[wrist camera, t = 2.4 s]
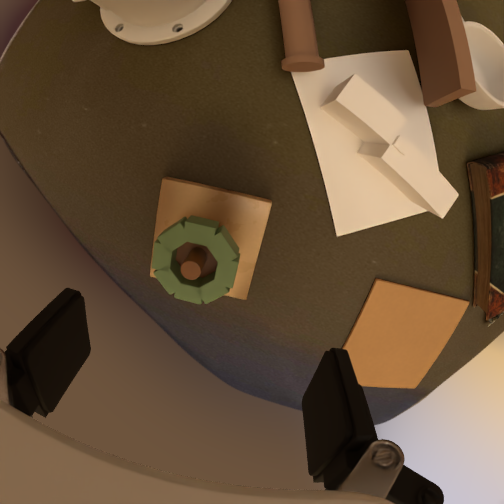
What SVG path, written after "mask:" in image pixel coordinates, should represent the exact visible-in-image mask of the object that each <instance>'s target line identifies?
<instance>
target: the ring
mask: <svg viewBox="0 0 504 504" xmlns="http://www.w3.org/2000/svg"><path fill="white" fill-rule="evenodd" d="M218 226H219V222H218V221H214V220H210V219H206V218H201V217H197V216H193V215H191V216H190V217H189V218H188V219H187V217H186V216H185V217H183V218H182V219H180V220H179V221H177V222H176V223H174V224H173V225H171V226H170V227H168V228H167V229H165V230H164V231H163V232H162V233H161V234H160V235H159V236H158V237H157V240H156V241H155V242H154V249H153V258H152V268H153V269H156V270H155V271H154V272H153V274H154V275H155V276H156V278H157V279H158V280H159V282H160V283H161V284H162V286H163V287H164V288H165V289H166V291H167V292H168V293H169V295H171V294H173V293H174V292H175V294H174V298H177V299H181V300H185V301H189V302H193V303H197V304H202V301H204V302H205V304H207V303H209V302H211V301H213V300H215V299H217V298H219V297H221V296H223V295H225V294H227V293H229V291H230V288H233V285H234V281H235V277H236V273H237V268H238V264H239V260H240V253H239V247H238V245H237V244H236V242H235V241H234V239H233V238H232V236H231V235H230V233H229V232H228V230H227V229H226V227H225V226H224V225H222V226H221V227H219V228H218ZM186 242H190V243H195V244H199V245H203V246H207V248H208V249H209V251H210V252H211V253H212V255H213V256H214V258H215V259H216V261H217V262H218V263H217V268H216V271H214V272H213V273H211V274H209V275H207V276H205V277H204V278H201V277H198V278H197V279H194V280H189V279H187V278H185V277H184V276H183V275H182V273H181V266H180V265H179V264H178V262H177V261H176V254H177V248H178V247H180V246H181V245H183V244H185V243H186Z"/></svg>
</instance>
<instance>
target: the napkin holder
mask: <svg viewBox="0 0 504 504" xmlns="http://www.w3.org/2000/svg"><path fill="white" fill-rule="evenodd" d="M324 64H325V67H324V68H323V69H321V70H317V71H311V72H291V74H292V77H293V80H294V83H295V85H296V88H297V91H298V94H299V97H300V100H301V104H302V107H303V110H304V113H305V116H306V119H307V123H308V126H309V129H310V133H311V136H312V139H313V143H314V146H315V150H316V153H317V157H318V161H319V164H320V168H321V172H322V176H323V179H324V183H325V187H326V191H327V195H328V200H329V204H330V208H331V212H332V217H333V221H334V226H335V230H336V235H337V236H341V235H345V234H348V233H352V232H355V231H359V230H362V229H366V228H370V227H373V226H377V225H380V224H384V223H387V222H391V221H395V220H398V219H402V218H405V217H409V216H412V215H416V214H419V213H423V212H426V211H430V212H432V213H433V214H435V215H437V216H439V217H440V218H442V219H443V218H444V216H445V215H446V213H447V212H448V210H449V209H450V207H451V206H452V204H453V203H454V201H455V200H456V198H457V197H458V195H459V194H458V193H457V192H456V191H455V189H454V188H453V187H452V186H451V185H450V183H449V182H448V181H447V180H446V179H445V178H444V177H443V175H442V174H441V173H440V172H439V169H438V163H437V156H436V151H435V145H434V140H433V135H432V130H431V126H430V121H429V117H428V113H427V109H426V106H425V105H424V102H423V94H422V90H421V87H420V84H419V80H418V77H417V74H416V71H415V68H414V65H413V62H412V59H411V56H410V53H409V51H408V50H399V51H384V52H373V53H363V54H355V55H347V56H340V57H334V58H327V59H324Z"/></svg>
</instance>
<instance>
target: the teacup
mask: <svg viewBox="0 0 504 504" xmlns="http://www.w3.org/2000/svg"><path fill="white" fill-rule="evenodd" d="M462 21H463V24H464V28H465V32H466V36H467V40H468V45H469V49H470V54H471V59H472V65H473V70H474V77H475V83H476V92H473V93H471V94H468V95H466V96H463V97H460V98H458V99H459V100H461V101H462V102H463V103H465V104H467V105H468V106H470V107H473V108H475V109H479V110H491V109H499V108H504V44H503V43H502V42H501V40H500V39H499V38H498V37H497V36H496V35H495V34H494V33H493V32H491V31H490V30H489V29H488V28H486V27H485V26H483V25H481V24H479V23H476V22H471V21H468V22H464V20H463V18H462Z"/></svg>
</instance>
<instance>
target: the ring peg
mask: <svg viewBox="0 0 504 504" xmlns="http://www.w3.org/2000/svg"><path fill="white" fill-rule="evenodd" d="M271 206H272V200H269V199H265V198H261V197H257V196H253V195H249V194H244V193H240V192H236V191H232V190H227V189H223V188H218V187H214V186H209V185H205V184H200V183H196V182H191V181H186V180H181V179H176V178H171V177H165V178H163V179H162V184H161V190H160V196H159V203H158V210H157V217H156V225H155V233H154V241H153V249H154V242H155V241H156V240H157V237H158V236H159V235H160V234H161V233H162V232H163V231H164V230H165V229H167V228H168V227H170V226H171V225H173V224H174V223H176V222H177V221H179V220H180V219H182V218H183V217H185V216H186V217H187V219H188V218H189V217H190V216H191V215H193V216H197V217H201V218H206V219H210V220H214V221H218V222H219V226H218V228H219V227H221V226H222V225H224V226H225V227H226V229H227V230H228V232H229V233H230V235H231V236H232V238H233V239H234V241H235V242H236V244H237V245H238V247H239V253H240V260H239V264H238V268H237V273H236V277H235V281H234V285H233V288H230V291H229V293H227V294H225V295H227V296H231V297H236V298H240V299H244V300H246V298H247V294H248V291H249V287H250V283H251V280H252V276H253V272H254V269H255V265H256V261H257V258H258V254H259V250H260V247H261V243H262V239H263V235H264V232H265V228H266V224H267V221H268V217H269V213H270V209H271ZM152 258H153V250H152ZM176 261H177V262H178V264H179V265H180V266H181V273H182V275H183V276H184V277H185V278H187V279H189V280H194V279H197V278H198V277H201V278H204V277H205V276H207V275H209V274H211V273H213V272H214V271H216V268H217V263H218V262H217V261H216V259H215V258H214V256H213V255H212V253H211V252H210V251H209V249H208V248H207V246H203V245H199V244H195V243H190V242H186V243H185V244H183V245H181V246H180V247H178V248H177V254H176ZM155 270H156V269H153V268H152V260H151V271H150V276H151V277H155V278H156V276H155V275H154V274H153V272H154V271H155Z"/></svg>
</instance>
